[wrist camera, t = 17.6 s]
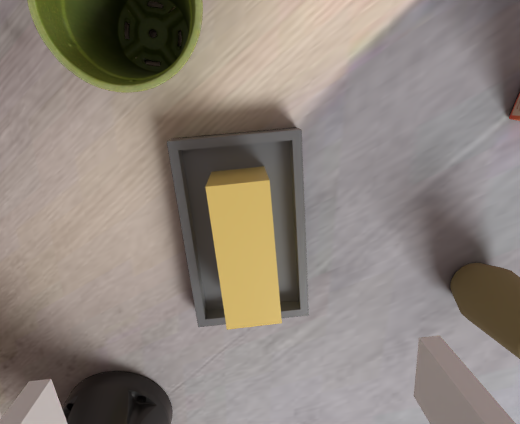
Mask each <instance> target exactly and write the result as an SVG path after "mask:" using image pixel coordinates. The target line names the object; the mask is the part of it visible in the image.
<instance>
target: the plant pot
mask: <svg viewBox="0 0 520 424" xmlns="http://www.w3.org/2000/svg"><path fill="white" fill-rule="evenodd" d="M27 1H28V6H29V10H30V13H31V16H32V19H33V22H34V24H35V27H36V29H37V31H38V33H39V35H40V36H41V38H42V40H43V42H44V43H45V44H46V46H47V47H48V49H49V50H50V51H51V52H52V54H53V55H54V56H55V57H56V58H57V59H58V61H59V62H60V63H61V64H62V65H63V66H65V67H66V68H67V69H68V70H69V71H71V72H72V73H73V74H75V75H76V76H77V77H79V78H81V79H82V80H84V81H85V82H87V83H89V84H92V85H94V86H96V87H99V88H102V89H105V90H109V91H115V92H139V91H144V90H148V89H151V88H154V87H156V86H159V85H161V84H162V83H164V82H166V81H167V80H169V79H170V78H172V77H173V76H174V75H175V74H176V73H177V72H178V71H179V70H180V69H181V68H182V67H183V66H184V65H185V63H186V62H187V61H188V59H189V58H190V56H191V54H192V52H193V50H194V48H195V46H196V43H197V41H198V37H199V34H200V30H201V24H202V14H203V3H202V0H27ZM150 1H154V2H158V3H161V4H162V5H163V8H161V9H160V8H156V7H149V6H148V5H147V4H148V2H150ZM173 7H175V8H174V9H173V10H172V11H171V12H169V11H170V10H171V9H172V8H173ZM128 10H129V11H128ZM168 12H169V13H168ZM167 13H168V14H167ZM125 22H127V23H129V24H130V25H129V37H130V39H125V35H124V24H125ZM150 30H155V31H156V33H157V36H156V37H154V38H152V37H151V36H150V35H149V31H150ZM181 30H182V31H181ZM178 31H181V36H182V42H181V46H178V39H179V35H178ZM136 57H137V58H136ZM147 59H148V60H151V61H156V62H158V61H159V62H160V66H153V65H152V66H151V65H148V64H146V63H145V60H147Z"/></svg>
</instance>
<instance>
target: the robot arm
mask: <svg viewBox="0 0 520 424" xmlns="http://www.w3.org/2000/svg"><path fill="white" fill-rule="evenodd" d="M414 397H415V399H416V401H417V402H418V404H419V406H420V407H421V409H422V411H423V412H424V414H425V416H426V417H427V419H428V421H429V422H430V424H516V423H515V422H514V421H513V420H512V419H511V418H510V416H509V415H508V414H507V413H506V412H505V411H504V409H503V408H502V407H501V406H500V405H499V404H498V403H497V401H496V400H495V399H494V398H493V397H492V396H491V394H490V393H489V392H488V391H487V390H486V389H485V387H484V386H483V385H482V384H481V383H480V382H479V381H478V379H477V378H476V377H475V376H474V375H473V374H472V372H471V371H470V370H469V369H468V368H467V367H466V365H465V364H464V363H463V362H462V361H461V360H460V358H459V357H458V356H457V355H456V354H455V353H454V352H453V350H452V349H451V348H450V347H449V346H448V345H447V343H446V342H445V341H444V340H443V339H442V338H441V336H432V337H423V338H419V344H418V355H417V367H416V378H415V389H414ZM171 420H172V406H171V402H170V400H169V398H168V396H167V395H166V393H165V392H164V391H163V390H162V389H161V388H160V387H159V386H158V385H157V384H155V383H154V382H152V381H151V380H149V379H147V378H145V377H142V376H140V375H137V374H133V373H128V372H105V373H100V374H96V375H93V376H91V377H89V378H87V379H85V380H83V381H82V382H81V383H79V384H78V385H77V386H76V387H75V388H74V389H73V391H72V392H71V394H70V395H69V397H68V399H67V401H66V402H65V404H64V406H63V408H62V407H61V404H60V402H59V399H58V396H57V393H56V391H55V388H54V385H53V382H52V380H51V379H45V380H36V381H29V382H28V383H27V384H26V386H25V387H24V388H23V390H22V391H21V392H20V394H19V395H18V396H17V398H16V399H15V400H14V402H13V403H12V404H11V406H10V407H9V408H8V410H7V411H6V412H5V414H4V415H3V416H2V418H1V419H0V424H171Z"/></svg>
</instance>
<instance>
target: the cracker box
mask: <svg viewBox="0 0 520 424" xmlns="http://www.w3.org/2000/svg"><path fill="white" fill-rule="evenodd" d="M509 119H513V120H518V121H520V93H519V95H518V98H517V100H516V102H515V105H514V107H513V109H512V112H511V114H510V116H509Z"/></svg>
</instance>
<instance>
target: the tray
mask: <svg viewBox="0 0 520 424" xmlns="http://www.w3.org/2000/svg"><path fill="white" fill-rule="evenodd" d="M167 146H168V152H169V158H170V164H171V169H172V175H173V181H174V187H175V193H176V199H177V205H178V211H179V217H180V222H181V228H182V234H183V240H184V246H185V252H186V258H187V264H188V270H189V275H190V281H191V287H192V293H193V299H194V305H195V311H196V317H197V323H198V327H204V326H214V325H223V324H226V320H225V313H224V307H223V300H222V294H221V287H220V280H219V274H218V267H217V260H216V254H215V247H214V241H213V234H212V227H211V221H210V214H209V207H208V201H207V194H206V188H205V187H206V184H207V182H208V179H209V177H210V174H211V172H214V171H224V170H233V169H243V168H253V167H262V166H264V167H265V170H266V172H267V175H268V177H269V180H270V191H271V202H272V214H273V226H274V238H275V249H276V261H277V273H278V284H279V296H280V308H281V318H289V317H298V316H307V315H309V309H308V284H307V258H306V233H305V207H304V182H303V157H302V131H301V129H299V128H286V129H274V130H263V131H252V132H240V133H229V134H218V135H207V136H195V137H184V138H173V139H171V140H169V141H167Z"/></svg>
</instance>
